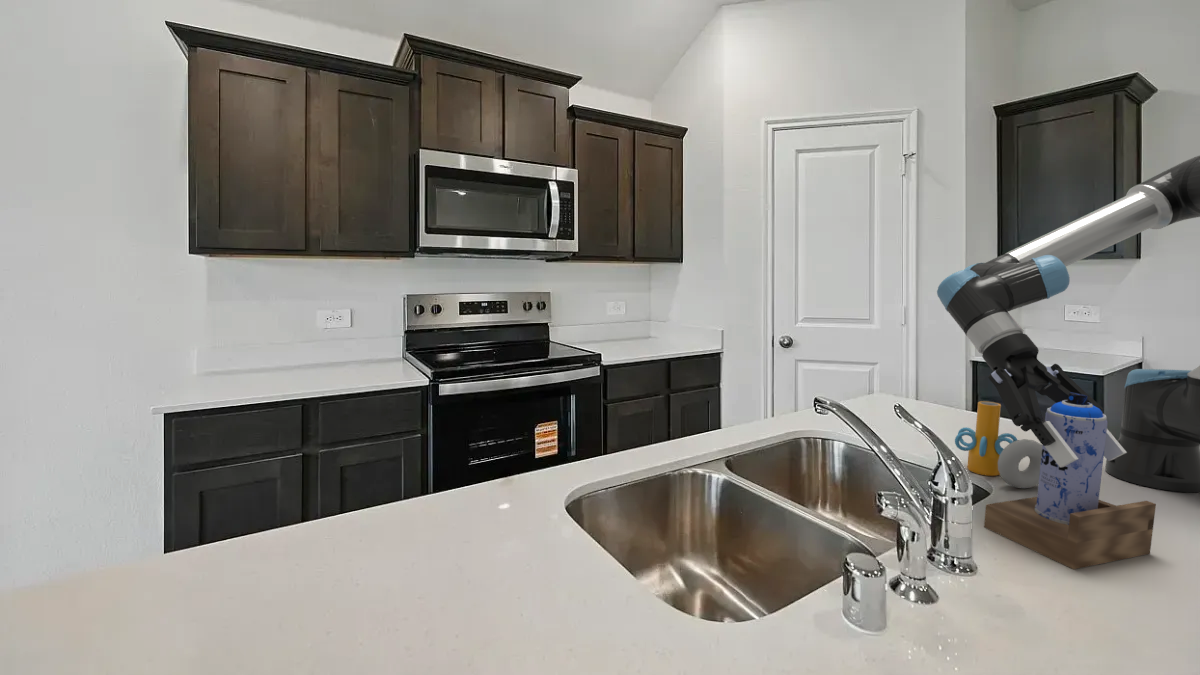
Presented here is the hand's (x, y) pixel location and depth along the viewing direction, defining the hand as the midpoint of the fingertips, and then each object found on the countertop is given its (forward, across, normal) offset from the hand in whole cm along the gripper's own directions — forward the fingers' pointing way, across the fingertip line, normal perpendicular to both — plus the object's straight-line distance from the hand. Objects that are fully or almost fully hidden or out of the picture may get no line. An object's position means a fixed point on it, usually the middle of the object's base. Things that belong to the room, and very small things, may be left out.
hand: (1093, 459), depth 85 cm
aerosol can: (+5, 0, -10) cm, 11 cm away
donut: (-5, -15, -25) cm, 30 cm away
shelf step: (+8, 0, -12) cm, 15 cm away
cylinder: (-11, -16, -32) cm, 37 cm away
